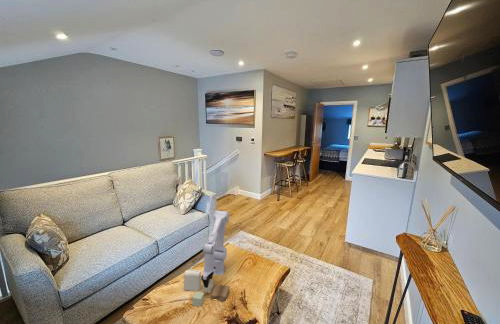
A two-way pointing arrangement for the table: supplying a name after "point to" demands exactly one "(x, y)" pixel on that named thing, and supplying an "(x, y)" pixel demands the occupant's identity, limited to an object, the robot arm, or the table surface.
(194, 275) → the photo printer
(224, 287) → the walnut base
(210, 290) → the cream cube
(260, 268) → the table surface
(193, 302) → the sage cube
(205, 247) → the robot arm
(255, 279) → the table surface
